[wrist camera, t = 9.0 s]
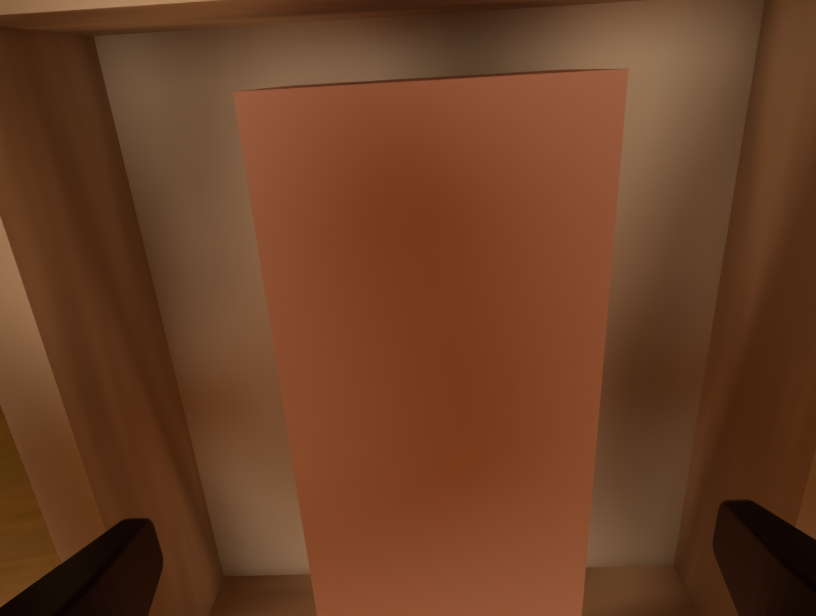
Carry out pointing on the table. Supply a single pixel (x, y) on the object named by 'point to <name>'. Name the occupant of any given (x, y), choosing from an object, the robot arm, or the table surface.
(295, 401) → the terracotta rectangular block
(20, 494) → the table surface
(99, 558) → the robot arm
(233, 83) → the shelf tray
